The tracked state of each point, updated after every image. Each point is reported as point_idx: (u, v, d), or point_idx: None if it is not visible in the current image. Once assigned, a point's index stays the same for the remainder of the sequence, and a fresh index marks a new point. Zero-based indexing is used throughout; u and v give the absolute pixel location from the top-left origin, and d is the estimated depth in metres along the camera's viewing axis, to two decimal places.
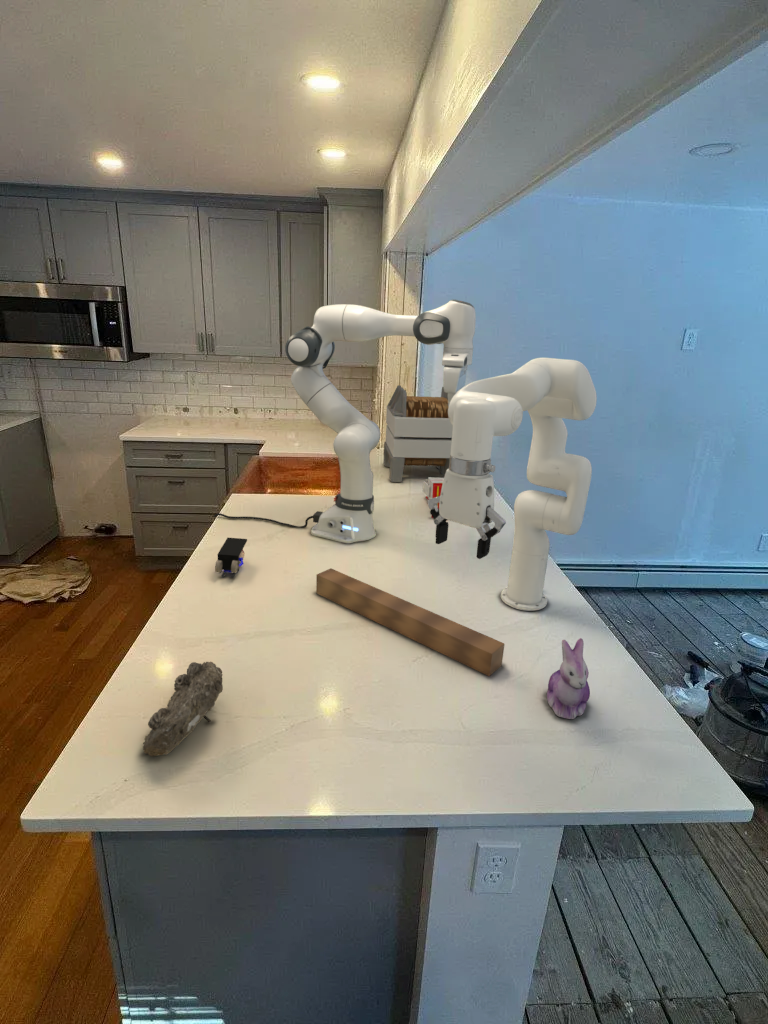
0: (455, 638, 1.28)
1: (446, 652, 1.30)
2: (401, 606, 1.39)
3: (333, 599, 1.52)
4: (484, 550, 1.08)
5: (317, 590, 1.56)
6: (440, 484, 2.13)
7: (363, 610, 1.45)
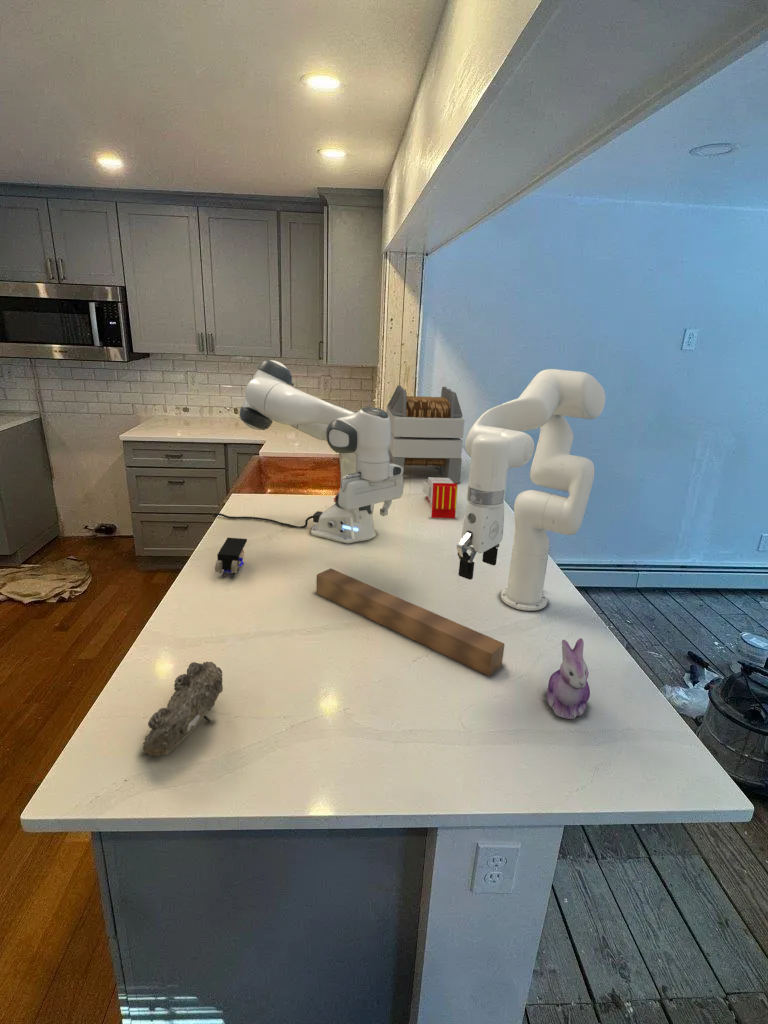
0: (455, 638, 1.28)
1: (446, 652, 1.30)
2: (401, 606, 1.39)
3: (333, 599, 1.52)
4: None
5: (317, 590, 1.56)
6: (440, 484, 2.13)
7: (363, 610, 1.45)
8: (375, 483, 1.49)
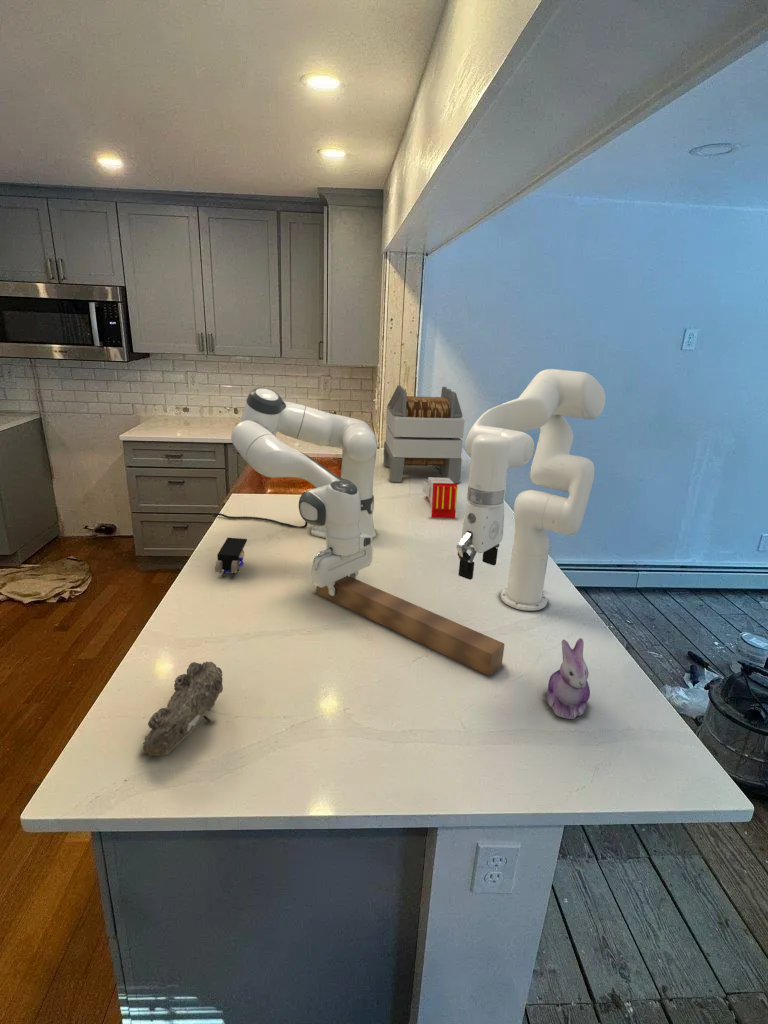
0: (455, 638, 1.28)
1: (446, 652, 1.30)
2: (401, 606, 1.39)
3: (333, 599, 1.52)
4: None
5: (317, 590, 1.56)
6: (440, 484, 2.13)
7: (363, 610, 1.45)
8: (347, 557, 1.47)
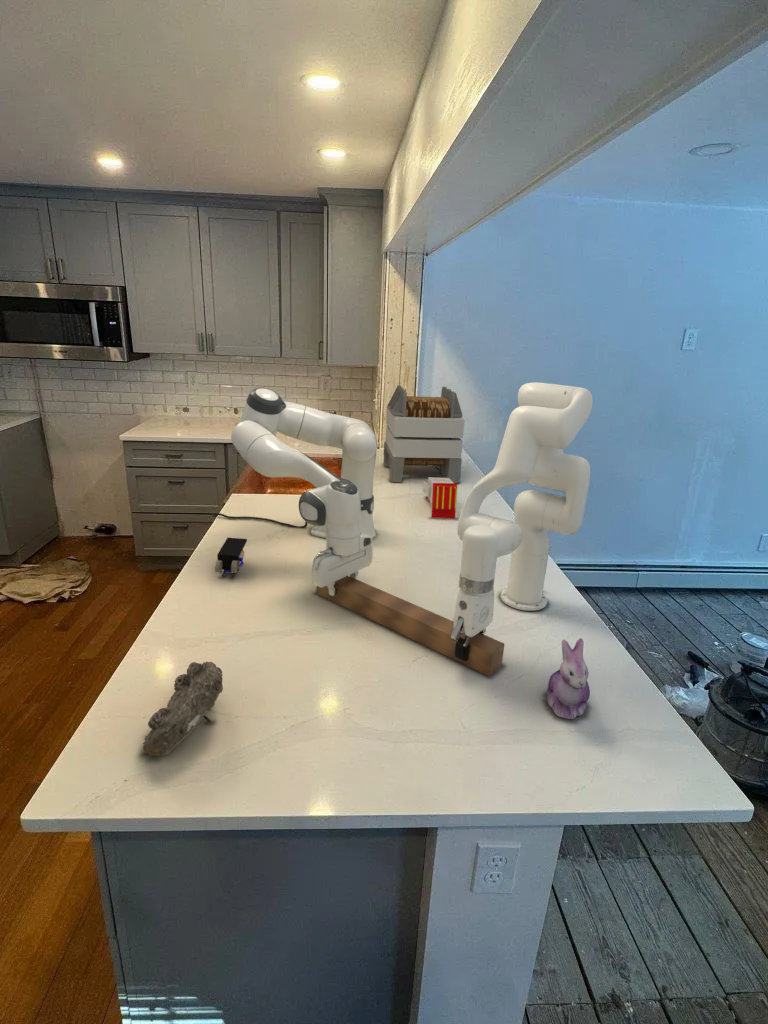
0: None
1: (446, 652, 1.30)
2: (401, 607, 1.39)
3: (333, 599, 1.52)
4: None
5: (317, 590, 1.56)
6: (440, 484, 2.13)
7: (363, 610, 1.45)
8: (347, 557, 1.47)
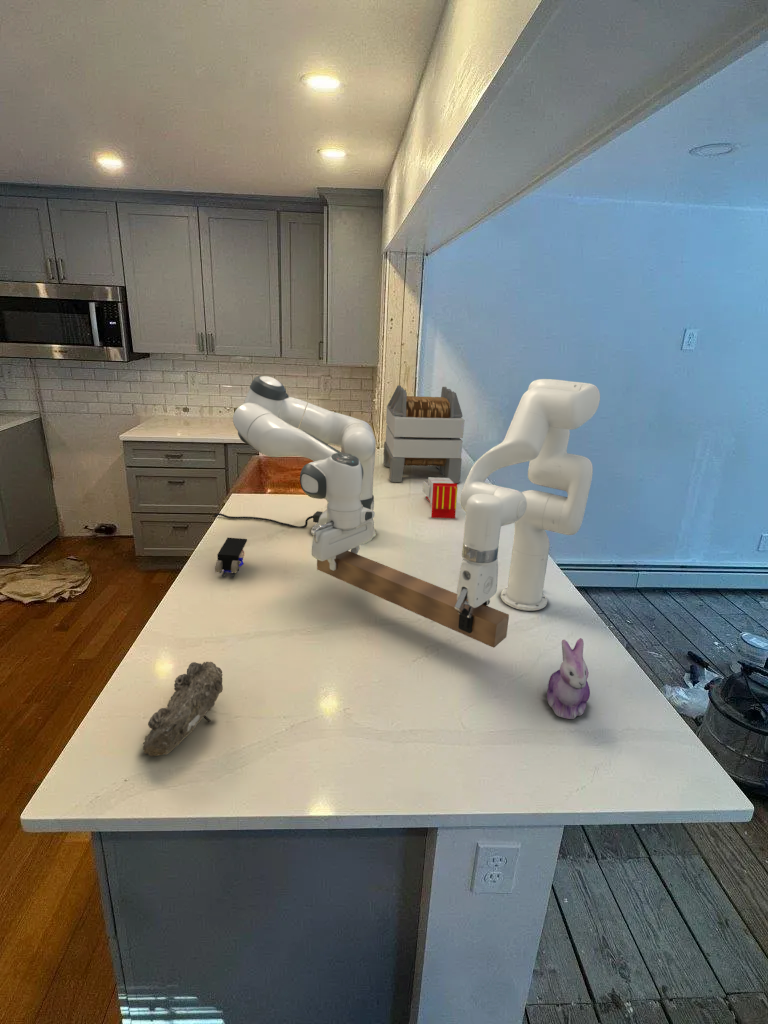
0: None
1: (449, 624, 1.28)
2: (403, 580, 1.37)
3: (334, 575, 1.50)
4: None
5: (318, 567, 1.53)
6: (440, 484, 2.13)
7: (364, 585, 1.43)
8: (348, 531, 1.44)
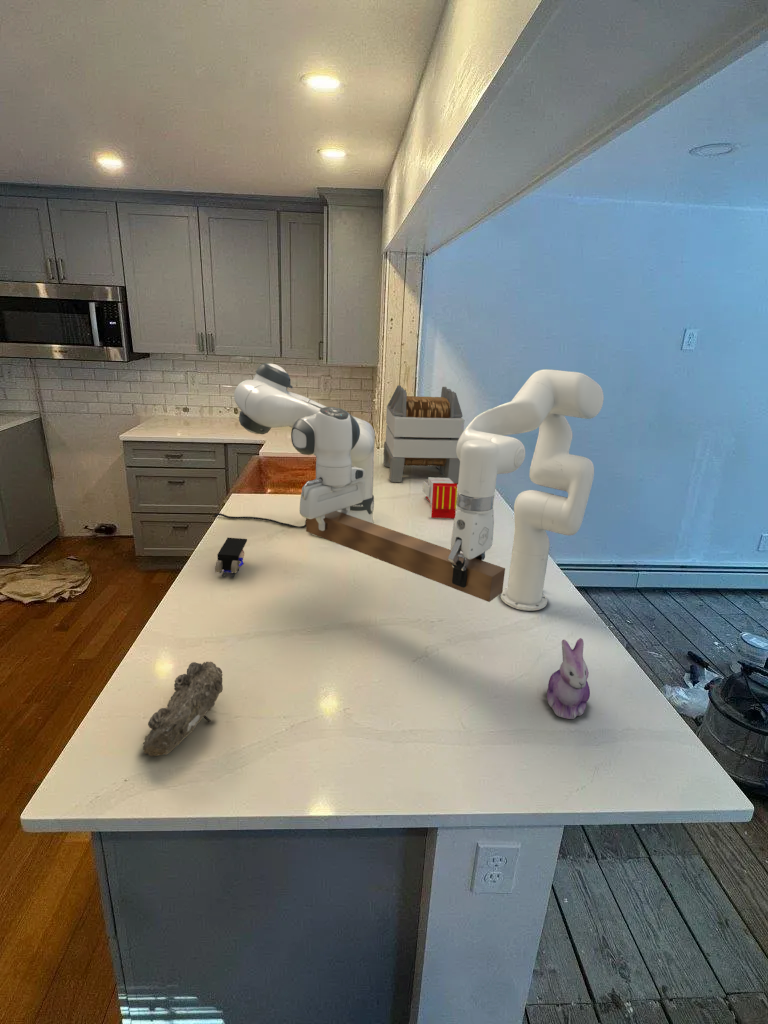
0: None
1: (443, 580, 1.23)
2: (395, 537, 1.32)
3: (323, 536, 1.44)
4: None
5: (307, 528, 1.48)
6: (440, 484, 2.13)
7: (355, 544, 1.38)
8: (338, 488, 1.39)
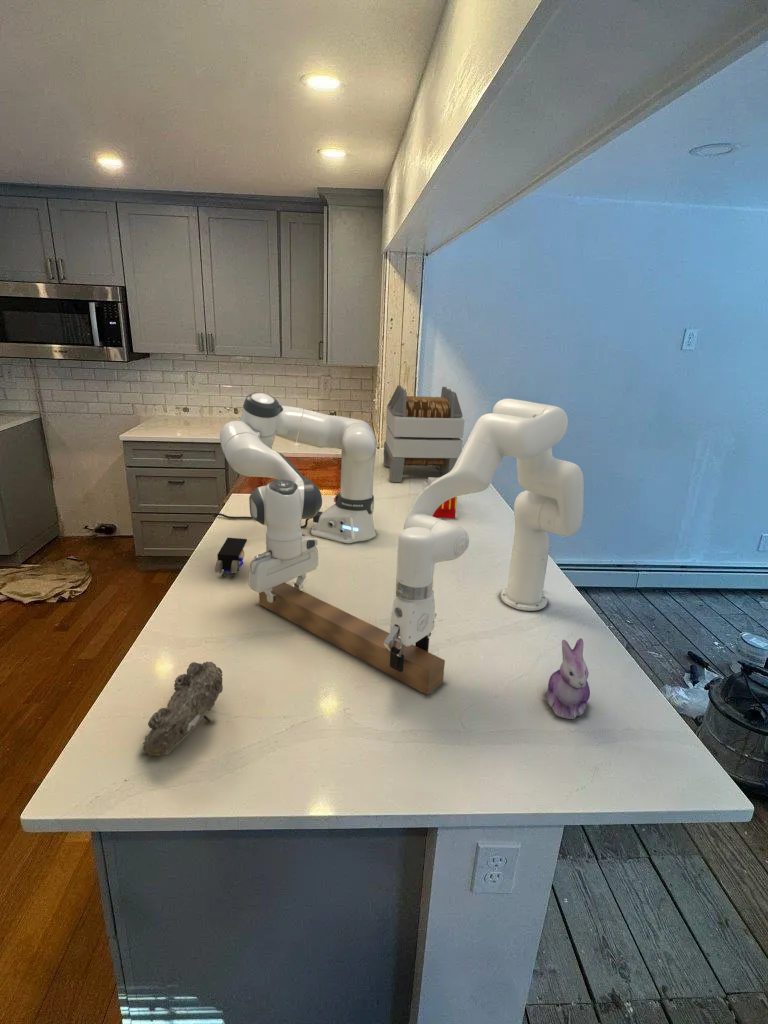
0: None
1: (385, 669, 1.23)
2: (342, 620, 1.32)
3: (275, 611, 1.45)
4: None
5: (260, 601, 1.48)
6: None
7: (304, 622, 1.38)
8: (288, 560, 1.39)
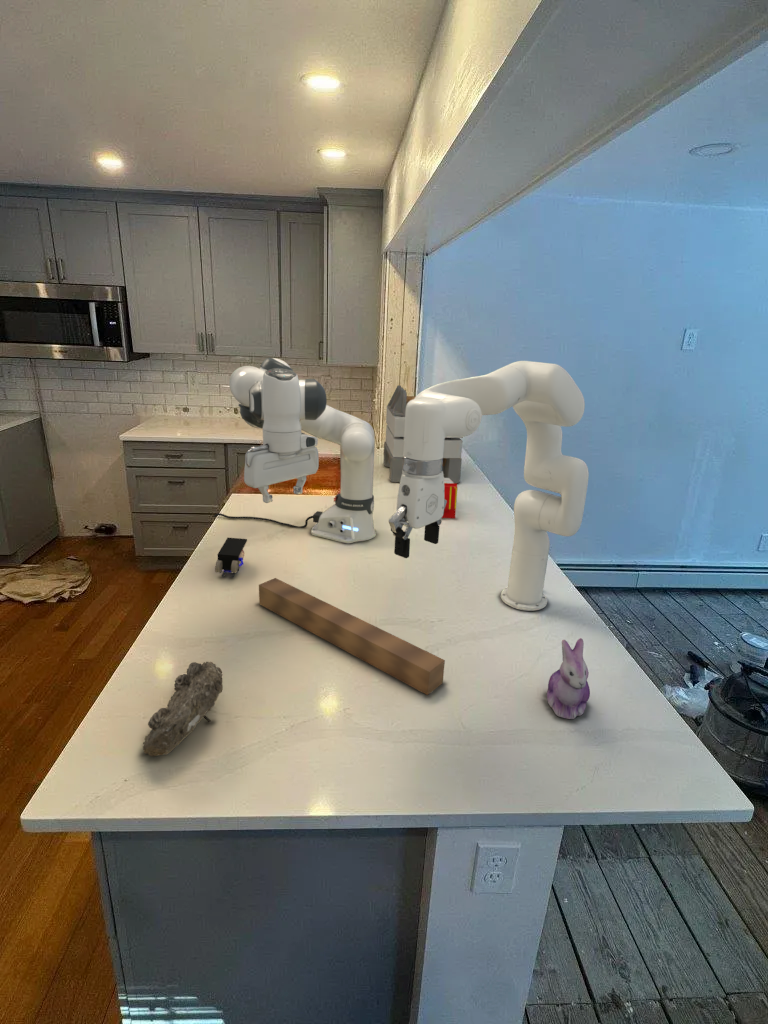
0: (393, 654, 1.21)
1: (385, 669, 1.23)
2: (342, 620, 1.32)
3: (275, 611, 1.45)
4: None
5: (260, 601, 1.48)
6: None
7: (304, 622, 1.38)
8: (286, 456, 1.30)
